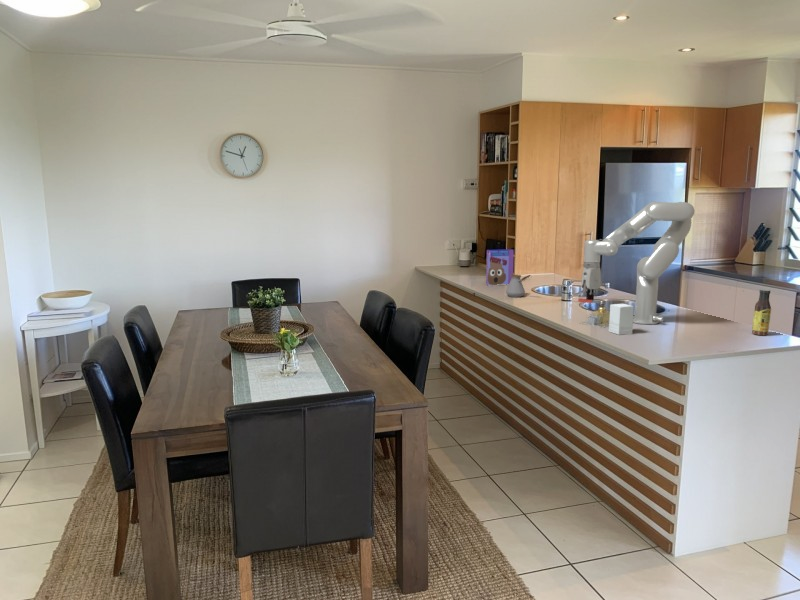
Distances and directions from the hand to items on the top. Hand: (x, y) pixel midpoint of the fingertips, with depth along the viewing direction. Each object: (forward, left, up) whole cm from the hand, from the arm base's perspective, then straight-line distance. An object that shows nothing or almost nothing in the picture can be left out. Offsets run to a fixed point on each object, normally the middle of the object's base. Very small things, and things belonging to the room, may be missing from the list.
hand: (589, 302), depth 295 cm
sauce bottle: (-66, -30, -9) cm, 74 cm away
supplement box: (-24, +13, -9) cm, 29 cm away
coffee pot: (+63, -24, -9) cm, 68 cm away
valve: (-7, +1, -9) cm, 12 cm away
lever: (-3, +2, -1) cm, 4 cm away
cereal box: (+104, -53, -9) cm, 117 cm away
